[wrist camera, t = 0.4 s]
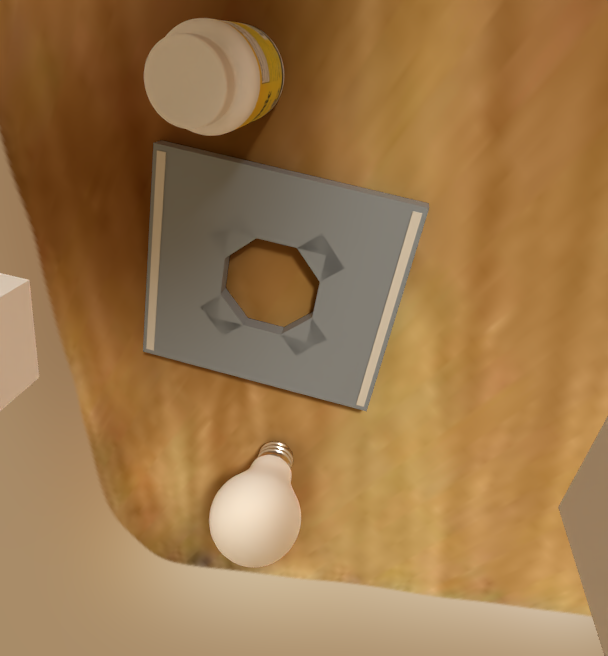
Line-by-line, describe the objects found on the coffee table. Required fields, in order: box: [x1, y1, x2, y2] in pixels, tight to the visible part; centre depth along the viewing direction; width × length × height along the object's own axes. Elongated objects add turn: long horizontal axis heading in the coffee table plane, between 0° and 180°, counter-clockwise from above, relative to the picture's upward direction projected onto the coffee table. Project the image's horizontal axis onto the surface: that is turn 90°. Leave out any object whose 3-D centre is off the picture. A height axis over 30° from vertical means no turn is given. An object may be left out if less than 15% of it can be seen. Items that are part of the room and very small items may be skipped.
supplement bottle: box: [144, 18, 284, 136], centre depth 29 cm, size 5×5×10 cm
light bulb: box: [209, 441, 301, 567], centre depth 41 cm, size 7×7×11 cm
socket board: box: [143, 140, 429, 411], centre depth 38 cm, size 16×18×1 cm
